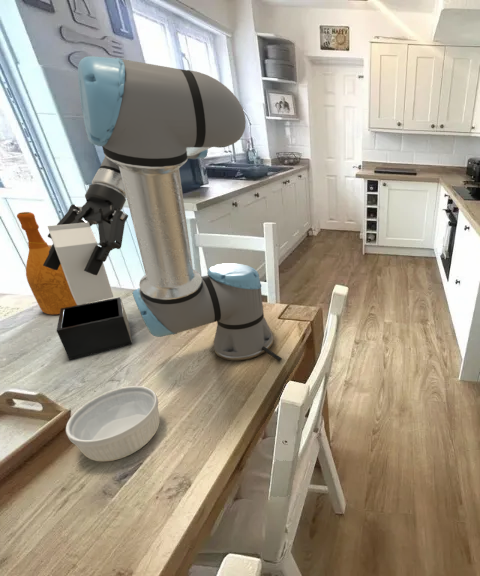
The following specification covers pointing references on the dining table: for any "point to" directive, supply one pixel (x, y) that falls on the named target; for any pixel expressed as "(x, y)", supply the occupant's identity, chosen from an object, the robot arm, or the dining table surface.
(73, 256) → the milk carton
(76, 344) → the open black box
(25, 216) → the wine bottle
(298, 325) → the dining table surface
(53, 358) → the dining table surface
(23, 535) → the dining table surface
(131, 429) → the ramekin
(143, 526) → the dining table surface
